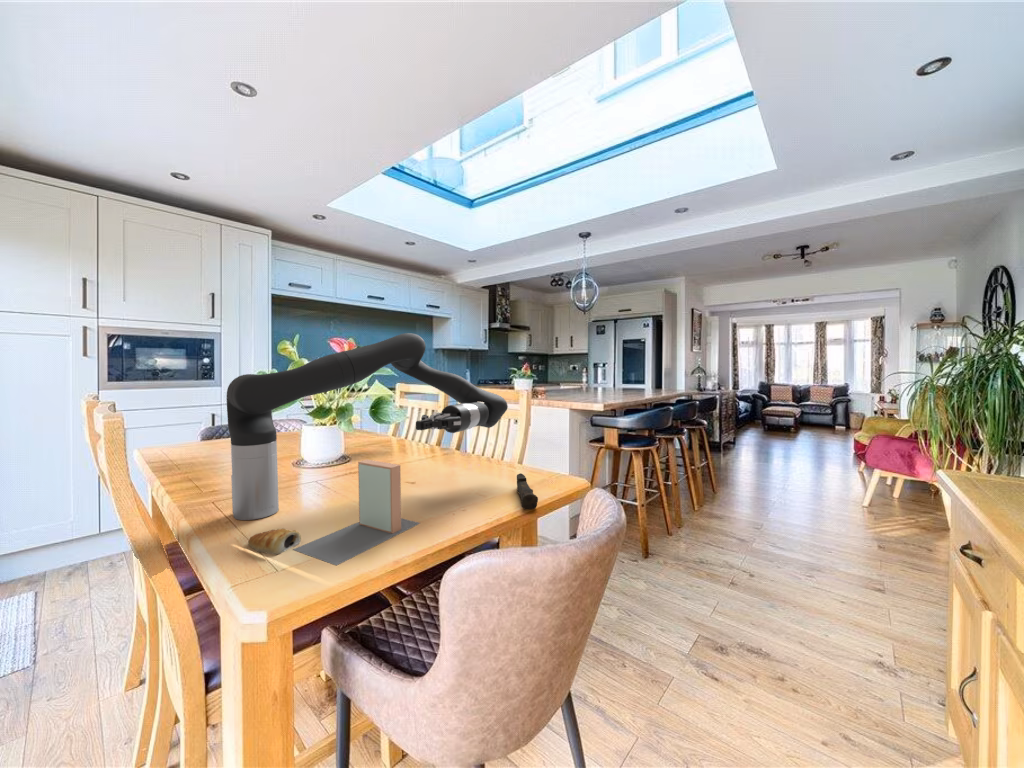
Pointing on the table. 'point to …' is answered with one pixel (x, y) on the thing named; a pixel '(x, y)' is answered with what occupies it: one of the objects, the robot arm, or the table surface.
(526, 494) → the hand tool
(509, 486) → the table surface
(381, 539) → the mat
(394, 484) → the tile
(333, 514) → the table surface
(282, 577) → the table surface
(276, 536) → the pastry
